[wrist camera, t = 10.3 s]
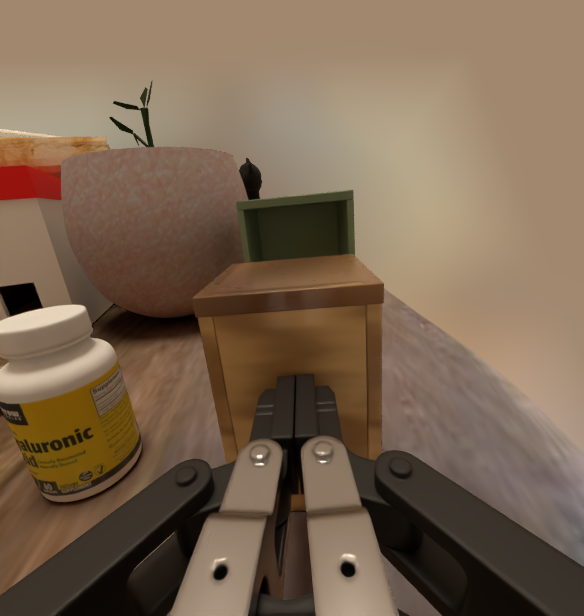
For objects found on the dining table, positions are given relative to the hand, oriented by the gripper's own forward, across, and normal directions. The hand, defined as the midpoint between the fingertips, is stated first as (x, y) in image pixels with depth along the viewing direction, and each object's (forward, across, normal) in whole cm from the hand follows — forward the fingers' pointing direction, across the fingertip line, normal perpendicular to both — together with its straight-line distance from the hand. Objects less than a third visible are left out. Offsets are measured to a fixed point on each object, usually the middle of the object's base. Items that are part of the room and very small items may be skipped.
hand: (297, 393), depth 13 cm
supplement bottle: (+3, +13, +7) cm, 15 cm away
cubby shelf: (+23, 0, +7) cm, 24 cm away
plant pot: (+33, +18, +7) cm, 39 cm away
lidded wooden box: (+3, 0, +7) cm, 7 cm away
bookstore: (+40, +45, +7) cm, 60 cm away
